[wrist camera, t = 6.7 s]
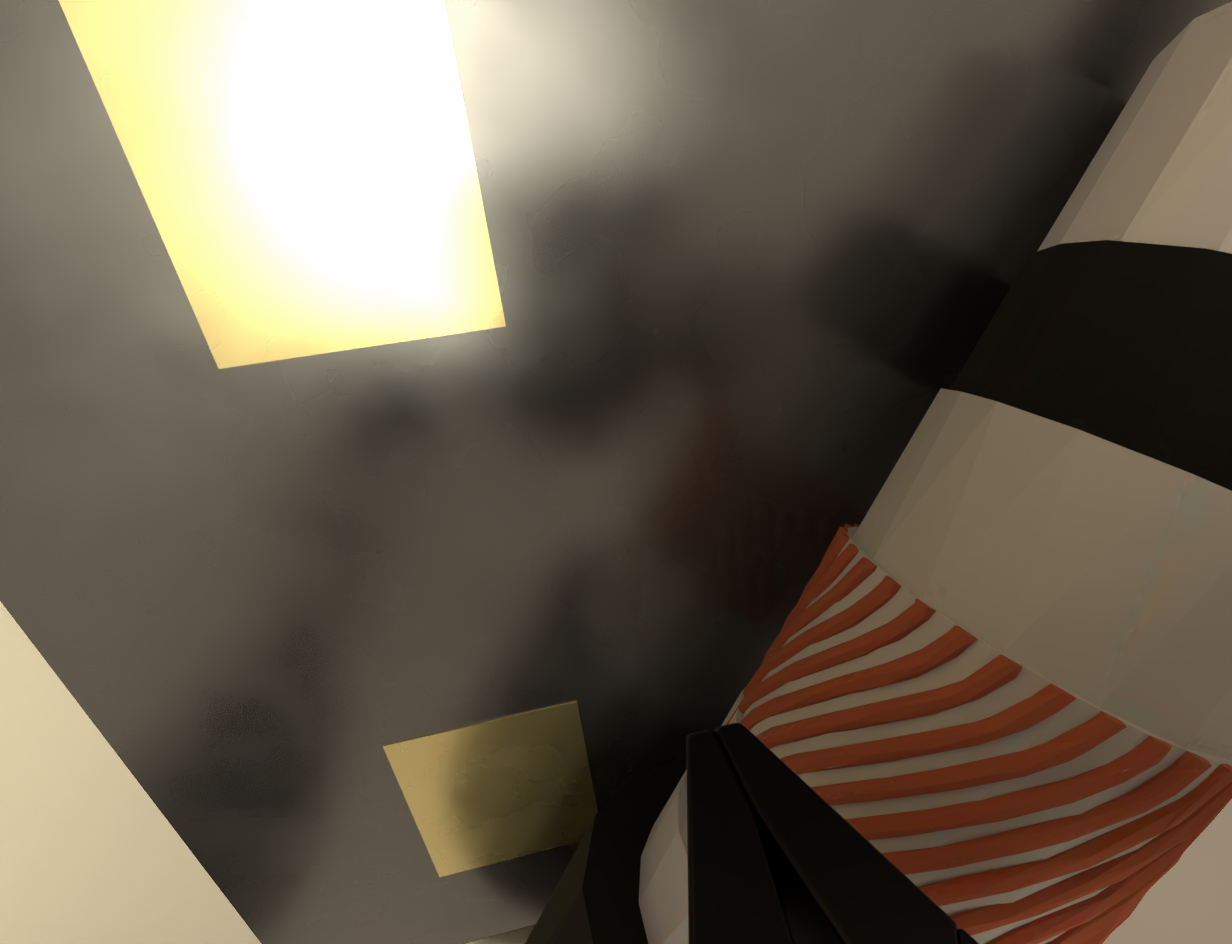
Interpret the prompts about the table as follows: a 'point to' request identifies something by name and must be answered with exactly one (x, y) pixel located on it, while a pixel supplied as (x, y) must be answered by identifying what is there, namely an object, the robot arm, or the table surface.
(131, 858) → the table surface
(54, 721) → the table surface
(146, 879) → the table surface
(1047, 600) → the banded tapered cylinder
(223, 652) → the plate
